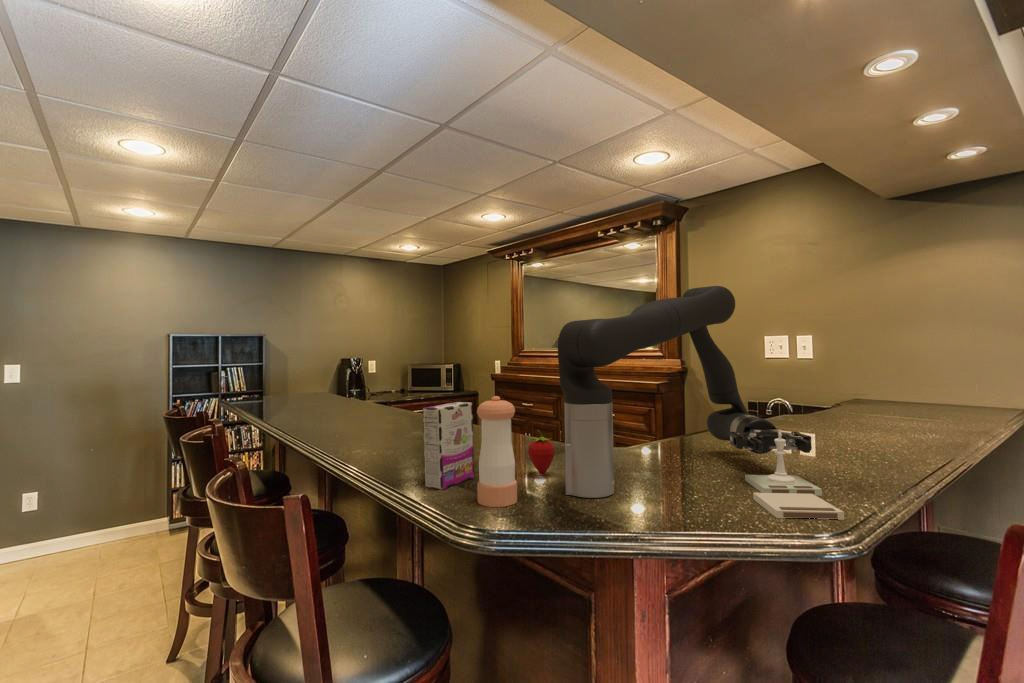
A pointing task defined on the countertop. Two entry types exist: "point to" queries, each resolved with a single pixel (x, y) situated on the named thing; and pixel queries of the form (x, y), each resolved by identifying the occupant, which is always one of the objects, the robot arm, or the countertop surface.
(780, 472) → the chess piece
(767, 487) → the tile two
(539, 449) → the strawberry
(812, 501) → the tile one
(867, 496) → the countertop surface
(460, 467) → the candy bar box
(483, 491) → the pepper shaker
